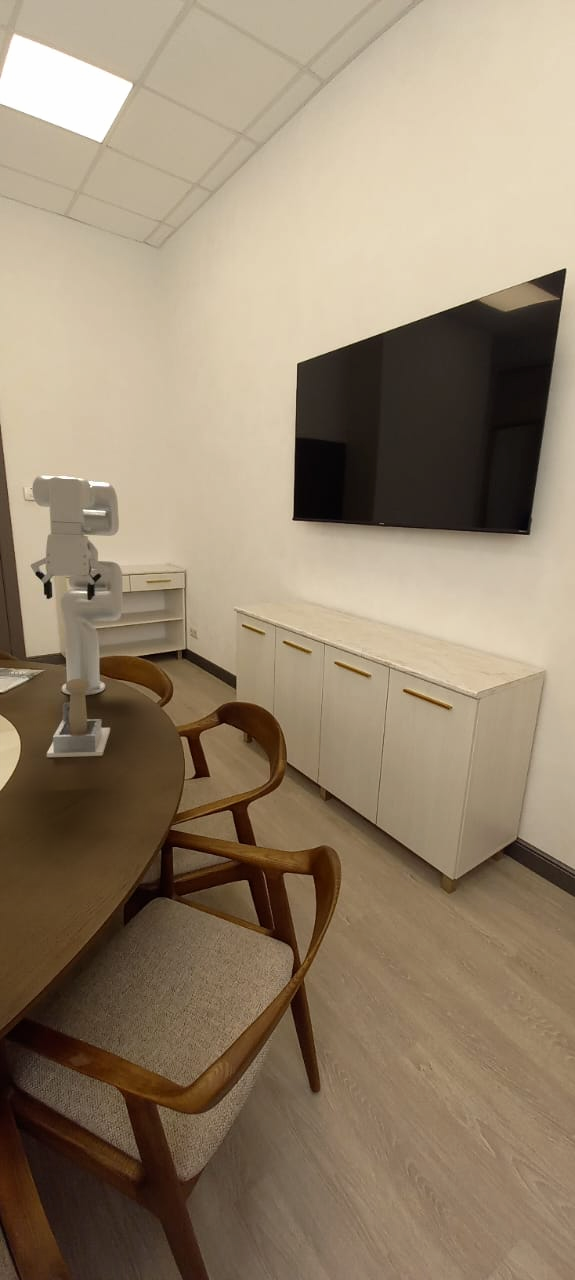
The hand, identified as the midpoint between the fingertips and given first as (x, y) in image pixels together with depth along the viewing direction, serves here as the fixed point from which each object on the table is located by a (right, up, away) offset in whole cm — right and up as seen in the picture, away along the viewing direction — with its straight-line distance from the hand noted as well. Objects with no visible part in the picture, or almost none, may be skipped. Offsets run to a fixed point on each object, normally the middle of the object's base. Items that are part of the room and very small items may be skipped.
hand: (69, 598), depth 130 cm
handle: (+5, -35, -7) cm, 36 cm away
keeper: (+5, -36, -5) cm, 36 cm away
